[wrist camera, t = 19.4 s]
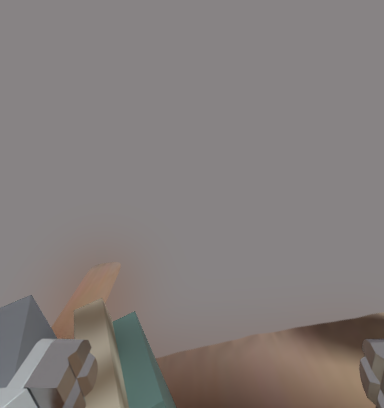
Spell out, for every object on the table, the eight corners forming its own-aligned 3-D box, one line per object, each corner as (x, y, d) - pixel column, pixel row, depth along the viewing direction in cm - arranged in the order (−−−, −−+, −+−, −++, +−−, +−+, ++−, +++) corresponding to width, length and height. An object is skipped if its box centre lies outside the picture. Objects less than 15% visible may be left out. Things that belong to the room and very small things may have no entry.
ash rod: (169, 615, 12) (149, 589, 11) (106, 665, 11) (78, 641, 10) (111, 318, 29) (101, 297, 28) (85, 331, 28) (73, 310, 27)
